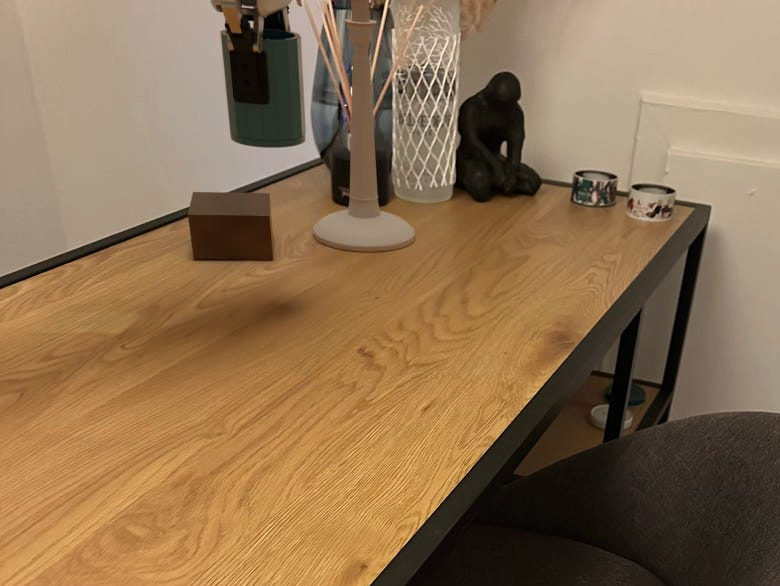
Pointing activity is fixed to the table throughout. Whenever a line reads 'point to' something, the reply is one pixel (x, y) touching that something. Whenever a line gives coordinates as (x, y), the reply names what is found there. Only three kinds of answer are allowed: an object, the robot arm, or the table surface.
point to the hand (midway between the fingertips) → (264, 93)
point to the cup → (286, 107)
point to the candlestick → (362, 163)
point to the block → (231, 226)
